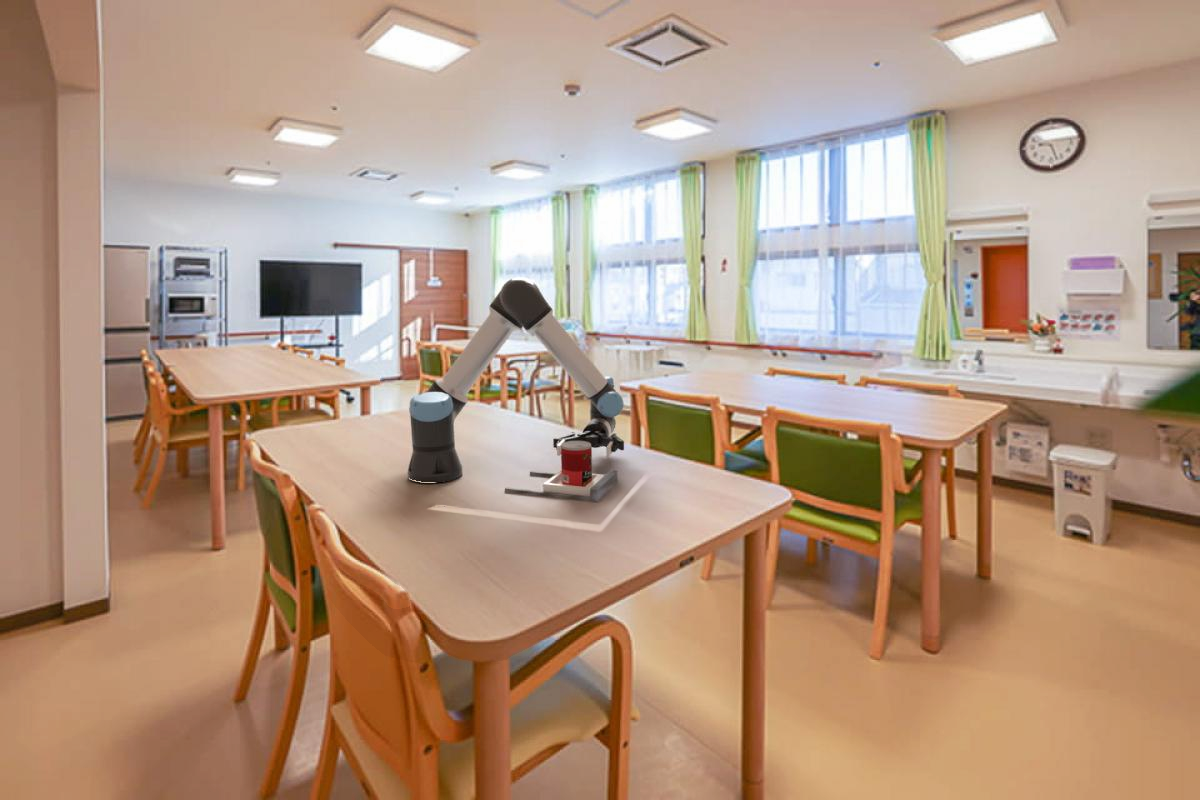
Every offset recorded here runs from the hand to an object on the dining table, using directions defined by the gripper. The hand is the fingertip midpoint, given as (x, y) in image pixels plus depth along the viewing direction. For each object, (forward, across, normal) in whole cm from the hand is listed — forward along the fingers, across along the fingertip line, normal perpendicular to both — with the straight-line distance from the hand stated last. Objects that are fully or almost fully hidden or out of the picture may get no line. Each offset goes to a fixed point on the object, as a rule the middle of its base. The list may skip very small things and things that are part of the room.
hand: (582, 451), depth 164 cm
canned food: (+6, 0, -8) cm, 10 cm away
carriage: (+6, +1, -8) cm, 10 cm away
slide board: (+6, +4, -9) cm, 12 cm away
